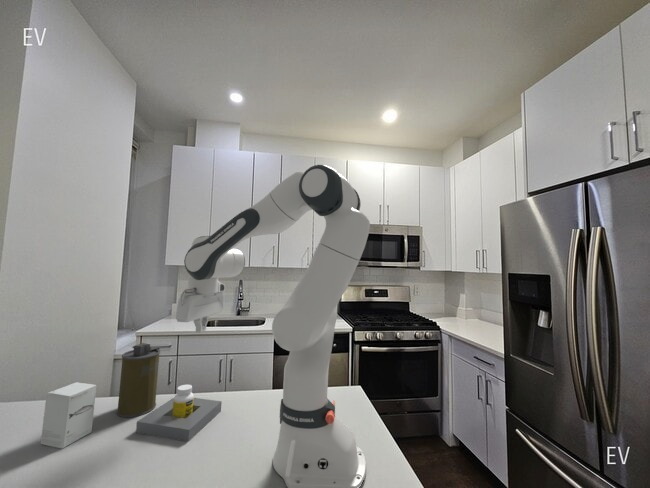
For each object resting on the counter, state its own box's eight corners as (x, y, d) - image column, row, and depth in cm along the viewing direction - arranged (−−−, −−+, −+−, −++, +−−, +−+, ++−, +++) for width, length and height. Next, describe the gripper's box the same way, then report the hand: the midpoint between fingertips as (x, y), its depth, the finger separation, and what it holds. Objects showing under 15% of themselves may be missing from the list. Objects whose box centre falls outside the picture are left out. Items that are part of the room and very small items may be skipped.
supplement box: (62, 449, 69) (68, 396, 70) (39, 444, 71) (45, 392, 72) (92, 432, 76) (97, 384, 77) (71, 428, 78) (76, 381, 79)
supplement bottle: (186, 427, 80) (188, 391, 81) (167, 426, 80) (170, 390, 81) (195, 416, 86) (197, 383, 86) (177, 415, 86) (180, 382, 87)
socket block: (220, 411, 90) (221, 398, 90) (188, 441, 74) (189, 426, 74) (176, 404, 92) (177, 392, 93) (135, 433, 77) (137, 418, 77)
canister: (132, 420, 82) (138, 351, 84) (108, 413, 86) (114, 346, 87) (164, 404, 93) (169, 342, 94) (141, 398, 96) (146, 338, 98)
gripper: (192, 290, 79) (189, 340, 77) (228, 285, 99) (226, 325, 98) (171, 289, 80) (168, 339, 78) (211, 285, 100) (209, 324, 98)
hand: (200, 331), depth 88 cm, fingers closed
